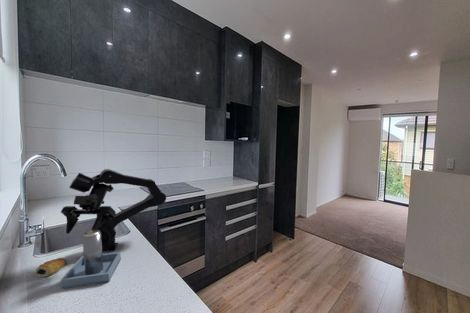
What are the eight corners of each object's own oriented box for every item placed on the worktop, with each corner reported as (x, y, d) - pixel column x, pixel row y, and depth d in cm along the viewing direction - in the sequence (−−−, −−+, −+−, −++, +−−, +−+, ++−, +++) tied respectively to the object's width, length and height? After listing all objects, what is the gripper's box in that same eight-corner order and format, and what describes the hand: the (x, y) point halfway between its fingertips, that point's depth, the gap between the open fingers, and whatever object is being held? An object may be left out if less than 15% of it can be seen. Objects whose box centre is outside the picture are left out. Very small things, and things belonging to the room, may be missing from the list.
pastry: (55, 262, 85) (55, 253, 85) (71, 262, 85) (71, 253, 84) (32, 277, 76) (31, 267, 75) (49, 278, 75) (49, 268, 75)
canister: (84, 270, 78) (80, 232, 77) (101, 264, 82) (99, 227, 81) (86, 277, 74) (83, 238, 73) (104, 270, 78) (102, 232, 76)
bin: (81, 264, 83) (81, 256, 83) (120, 259, 87) (120, 252, 86) (61, 288, 70) (61, 280, 69) (109, 281, 73) (108, 273, 73)
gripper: (62, 186, 84) (39, 225, 74) (110, 186, 84) (93, 225, 74) (78, 200, 92) (59, 236, 82) (121, 199, 92) (108, 236, 82)
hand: (79, 233), depth 80 cm, fingers open, 9 cm apart
